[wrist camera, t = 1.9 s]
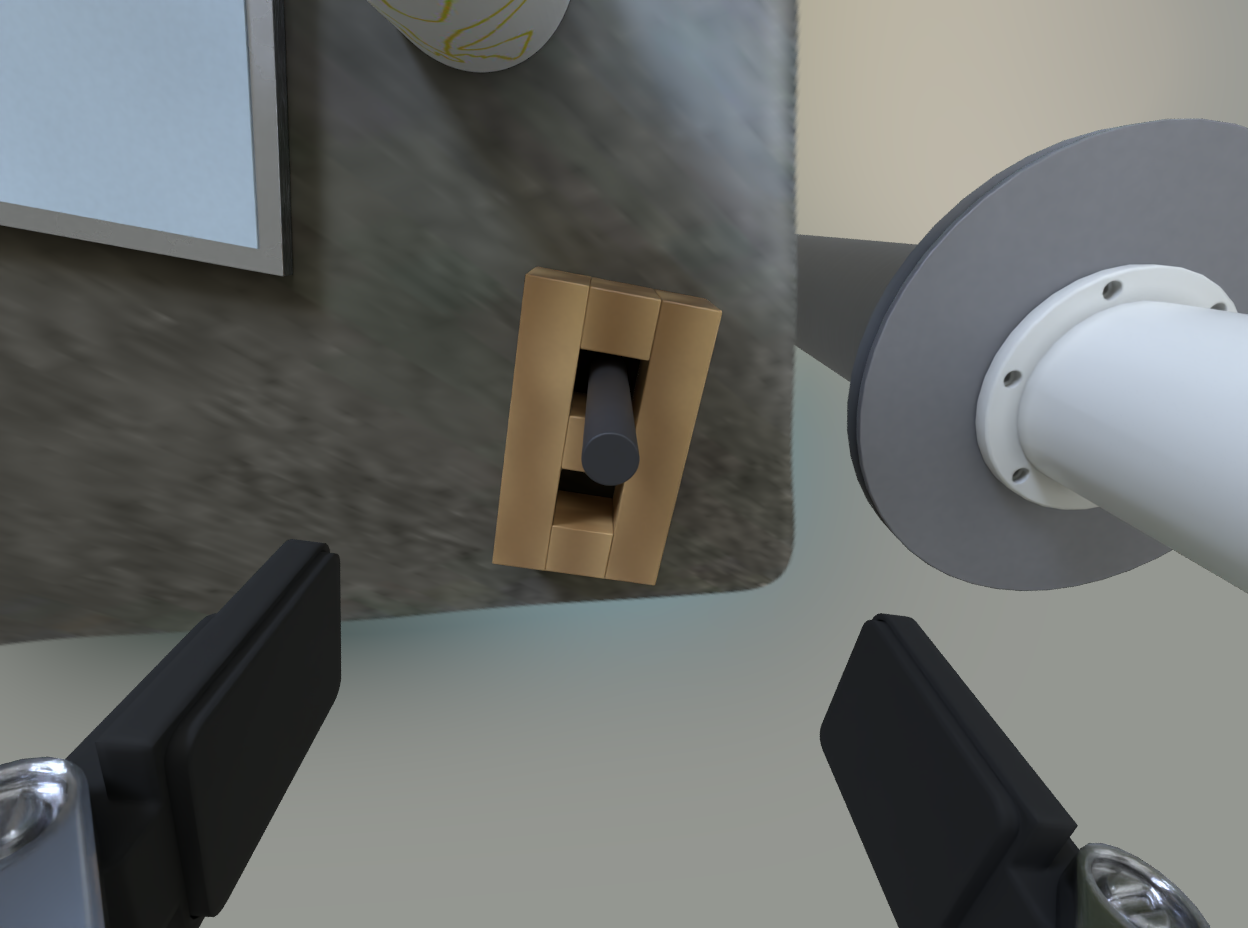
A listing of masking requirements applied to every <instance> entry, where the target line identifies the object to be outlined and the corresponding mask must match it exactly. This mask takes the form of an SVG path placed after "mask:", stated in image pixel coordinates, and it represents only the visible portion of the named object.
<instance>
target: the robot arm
mask: <svg viewBox="0 0 1248 928" xmlns="http://www.w3.org/2000/svg"><path fill="white" fill-rule="evenodd" d="M975 425H976V433H977V442H978V446H979V448H980V451H981V454H982V457H983V459H984V462H985V463H986V465H987V466H988V468H989V469H990V471H991V472H992V473H993V475H994V476H995V477H996V478H997V479H998V480H999V481H1000V482H1001V483H1003V484H1004V485H1005V486H1006V487H1007V488H1008V489H1010V490H1012V491H1013V492H1015V493H1016V494H1018V495H1020V496H1021V497H1023V498H1024V499H1026V500H1028V501H1031V502H1033V503H1036V504H1039V505H1041V506H1044V507H1050V508H1056V509H1062V510H1076V509H1090V508H1095V507H1101V508H1102V509H1104V510H1106V511H1108V512H1109V513H1111V514H1113V515H1114V516H1116V517H1118V518H1119V519H1121V520H1123V521H1125V522H1126V523H1128V524H1130V525H1131V526H1133V527H1135V528H1137V529H1138V530H1140V531H1142V532H1143V533H1145V534H1147V535H1149V536H1150V537H1152V538H1154V539H1155V540H1157V541H1159V542H1161V543H1162V544H1164V545H1166V546H1167V547H1169V548H1171V549H1173V550H1174V551H1176V552H1178V553H1179V554H1181V555H1183V556H1185V557H1186V558H1188V559H1190V560H1191V561H1193V562H1195V563H1197V564H1198V565H1200V566H1202V567H1203V568H1205V569H1207V570H1209V571H1210V572H1212V573H1214V574H1215V575H1217V576H1219V577H1221V578H1222V579H1224V580H1226V581H1228V582H1229V583H1231V584H1232V585H1234V586H1236V587H1238V588H1239V589H1241V590H1243V591H1244V592H1246V593H1248V314H1242V313H1238V312H1237V310H1236V307H1235V305H1234V303H1233V302H1232V300H1231V299H1230V298H1229V297H1228V296H1227V294H1226V293H1225V292H1224V291H1223V289H1222V288H1221V287H1220V286H1218V285H1217V284H1215V283H1214V282H1213V281H1211V280H1210V279H1208V278H1207V277H1205V276H1204V275H1202V274H1199V273H1196V272H1193V271H1190V270H1187V269H1185V268H1182V267H1174V266H1165V265H1156V264H1129V265H1124V266H1119V267H1114V268H1110V269H1105V270H1101V271H1099V272H1096V273H1094V274H1091V275H1089V276H1086V277H1083V278H1081V279H1078V280H1076V281H1075V282H1073V283H1071V284H1069V285H1068V286H1066V287H1064V288H1062V289H1061V290H1059V291H1057V292H1056V293H1054V294H1052V295H1051V296H1050V297H1049V298H1047V299H1046V300H1045V301H1043V302H1042V303H1041V304H1040V305H1038V306H1037V307H1036V308H1035V309H1033V310H1032V311H1031V312H1030V313H1029V314H1028V315H1027V316H1026V317H1025V318H1024V319H1023V320H1022V321H1021V322H1020V323H1019V325H1018V326H1017V327H1016V328H1015V329H1014V330H1013V331H1012V332H1011V333H1010V335H1009V336H1008V337H1007V339H1006V340H1005V342H1004V343H1003V345H1002V346H1001V348H1000V349H999V350H998V352H997V353H996V355H995V357H994V359H993V361H992V363H991V365H990V367H989V369H988V371H987V373H986V375H985V377H984V380H983V384H982V387H981V390H980V394H979V397H978V401H977V410H976V421H975ZM340 682H341V611H340V558H339V555H338V554H335V553H330V549H329V546H328V545H327V544H326V543H318V542H310V541H302V540H294V539H290V540H287V541H286V542H285V543H284V544H283V545H282V546H281V547H280V548H279V549H278V550H277V551H276V552H275V553H274V554H273V555H272V556H271V557H270V558H269V559H268V560H267V562H266V563H265V564H264V565H263V566H262V567H261V568H260V569H259V570H258V571H257V572H256V573H255V574H254V575H253V576H252V577H251V578H250V579H249V580H248V581H247V582H246V584H245V585H244V586H243V587H242V588H241V589H240V590H239V591H238V592H237V593H236V594H235V595H234V596H233V597H232V598H231V599H230V600H229V601H228V602H227V603H226V605H225V606H224V607H223V608H222V609H221V610H220V611H219V612H218V613H217V614H212V615H209V616H206V617H205V618H204V619H203V620H201V621H200V622H199V623H198V624H197V625H196V626H195V627H194V628H193V629H192V630H191V631H190V632H189V633H188V634H187V635H186V636H185V637H184V638H183V639H182V640H181V641H180V642H179V643H178V644H177V645H176V646H175V647H174V648H173V649H172V651H171V652H169V654H168V655H167V656H166V657H165V658H164V659H163V660H162V661H161V662H160V663H159V664H158V665H157V666H156V667H155V668H154V669H153V670H152V671H151V672H150V673H149V674H148V675H147V676H146V677H145V678H144V679H143V680H142V681H141V682H140V683H139V684H138V685H137V686H136V687H135V688H134V689H133V690H132V691H131V692H130V693H129V695H127V697H126V698H125V699H124V700H123V701H122V702H121V703H120V704H119V705H118V706H117V707H116V708H115V709H114V710H113V711H112V712H111V713H110V714H109V715H108V716H107V717H106V718H105V719H104V720H103V721H102V722H101V723H100V724H99V725H98V726H97V727H96V728H95V729H94V730H93V731H92V732H91V733H90V734H89V735H88V737H86V738H85V739H84V741H83V742H82V743H81V744H80V745H79V746H78V747H77V748H76V749H75V750H74V751H73V752H72V753H71V754H70V755H69V756H68V757H67V758H66V759H65V760H64V759H58V758H52V757H40V758H28V759H20V760H17V761H13V762H9V763H5V764H1V765H0V928H199V926H200V925H201V923H202V921H203V919H204V917H215V916H216V915H218V913H219V912H220V911H221V910H222V909H223V907H224V905H225V904H226V902H227V900H228V899H229V897H230V895H231V893H232V891H233V889H234V887H235V885H236V884H237V882H238V880H239V878H240V876H241V874H242V873H243V871H244V869H245V867H246V865H247V863H248V861H249V859H250V858H251V856H252V854H253V852H254V850H255V848H256V846H257V845H258V843H259V841H260V839H261V837H262V835H263V833H264V832H265V830H266V828H267V826H268V824H269V822H270V820H271V819H272V817H273V815H274V813H275V811H276V809H277V807H278V805H279V804H280V802H281V800H282V798H283V796H284V794H285V793H286V791H287V789H288V787H289V785H290V783H291V781H292V780H293V778H294V776H295V774H296V772H297V770H298V768H299V767H300V765H301V763H302V761H303V759H304V757H305V755H306V753H307V752H308V750H309V748H310V746H311V744H312V742H313V740H314V739H315V737H316V735H317V733H318V731H319V729H320V727H321V726H322V724H323V722H324V720H325V718H326V716H327V714H328V713H329V710H330V709H331V707H332V705H333V703H334V701H335V699H336V697H337V694H338V691H339V687H340ZM820 742H821V746H822V749H823V752H824V754H825V756H826V759H827V761H828V763H829V766H830V768H831V770H832V773H833V775H834V777H835V780H836V782H837V784H838V787H839V789H840V791H841V794H842V796H843V798H844V801H845V803H846V805H847V808H848V810H849V812H850V814H851V817H852V819H853V822H854V824H855V826H856V829H857V831H858V834H859V836H860V838H861V841H862V843H863V845H864V847H865V850H866V852H867V854H868V857H869V859H870V862H871V864H872V866H873V869H874V871H875V873H876V876H877V878H878V880H879V883H880V885H881V887H882V890H883V892H884V894H885V897H886V899H887V901H888V904H889V906H890V908H891V911H892V913H893V915H894V918H895V920H896V922H897V925H898V927H899V928H1210V925H1209V924H1208V923H1207V921H1206V920H1205V918H1204V917H1203V915H1202V914H1201V913H1200V911H1199V910H1198V908H1197V907H1196V906H1195V905H1194V904H1193V903H1192V901H1191V900H1190V899H1189V898H1188V897H1187V896H1186V895H1185V894H1184V893H1183V892H1182V891H1181V890H1180V889H1179V888H1178V887H1177V886H1176V885H1175V884H1174V883H1172V882H1171V881H1170V880H1169V879H1167V878H1166V877H1165V876H1164V875H1163V874H1162V873H1161V872H1159V871H1158V870H1156V869H1155V868H1154V867H1152V866H1151V865H1149V864H1148V863H1146V862H1144V861H1143V860H1141V859H1140V858H1138V857H1136V856H1134V855H1132V854H1130V853H1128V852H1126V851H1124V850H1122V849H1120V848H1117V847H1114V846H1110V845H1107V844H1103V843H1088V844H1087V845H1085V846H1084V847H1082V848H1080V850H1079V849H1078V848H1077V846H1076V845H1075V844H1074V842H1073V841H1072V840H1071V838H1070V836H1071V835H1072V833H1073V832H1074V830H1075V829H1076V828H1077V824H1076V823H1075V821H1074V820H1073V819H1072V818H1071V817H1070V815H1069V814H1068V813H1067V812H1066V810H1065V809H1064V808H1063V806H1062V805H1061V804H1060V803H1059V801H1058V800H1057V799H1056V797H1054V795H1053V794H1052V793H1051V791H1050V790H1049V789H1048V788H1047V786H1046V785H1045V784H1044V782H1043V781H1042V780H1041V779H1040V777H1039V776H1038V775H1037V774H1036V772H1035V771H1034V770H1033V769H1032V767H1031V766H1030V765H1029V763H1027V761H1026V760H1025V759H1024V757H1023V756H1022V755H1021V754H1020V752H1019V751H1018V750H1017V748H1016V747H1015V746H1014V745H1013V743H1012V742H1011V741H1010V740H1009V738H1008V737H1007V736H1006V734H1005V733H1004V732H1003V731H1002V729H1001V728H1000V727H999V726H998V724H996V722H995V721H994V720H993V718H992V717H991V716H990V714H989V713H988V712H987V711H986V710H985V708H984V707H983V705H982V704H981V703H980V702H979V700H978V699H977V698H976V697H975V695H974V694H973V693H972V692H971V690H970V689H969V688H968V687H967V685H966V684H965V683H964V682H963V680H962V679H961V678H960V677H959V675H958V674H957V673H956V671H955V670H954V669H953V668H952V666H951V665H950V664H949V663H948V662H947V660H946V659H945V658H944V656H943V655H942V654H941V653H940V651H939V650H938V649H937V648H936V646H935V645H934V644H933V642H932V641H931V640H930V639H929V637H928V636H927V635H926V634H925V632H924V631H923V630H922V629H921V627H920V626H919V625H918V624H917V622H916V621H915V620H914V619H912V618H910V617H906V616H898V615H890V614H882V613H880V614H877V615H876V616H874V617H873V619H872V620H868V621H866V622H865V623H864V625H863V627H862V629H861V632H860V634H859V636H858V639H857V641H856V644H855V646H854V649H853V651H852V653H851V656H850V658H849V660H848V663H847V665H846V668H845V670H844V672H843V675H842V677H841V680H840V682H839V684H838V687H837V689H836V692H835V694H834V696H833V699H832V701H831V703H830V706H829V708H828V711H827V713H826V715H825V718H824V720H823V723H822V725H821V729H820Z"/></svg>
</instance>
